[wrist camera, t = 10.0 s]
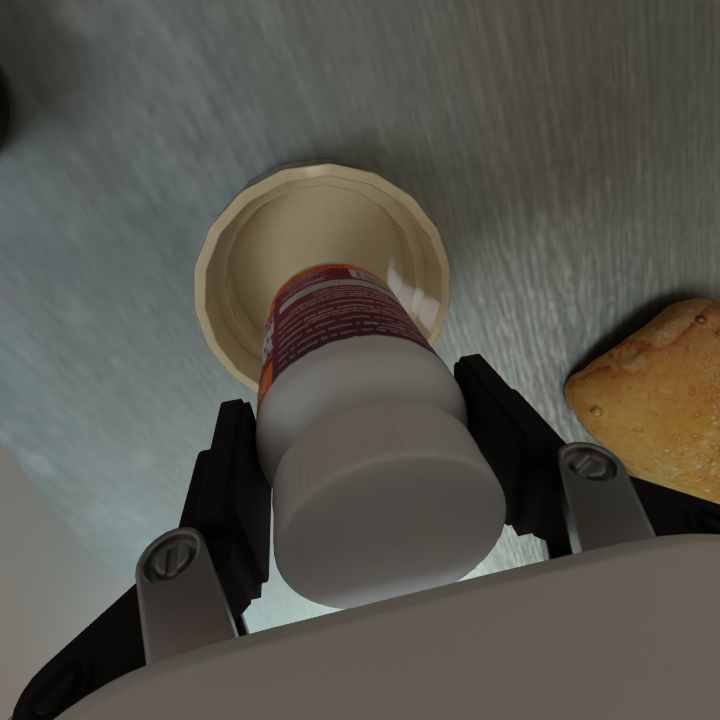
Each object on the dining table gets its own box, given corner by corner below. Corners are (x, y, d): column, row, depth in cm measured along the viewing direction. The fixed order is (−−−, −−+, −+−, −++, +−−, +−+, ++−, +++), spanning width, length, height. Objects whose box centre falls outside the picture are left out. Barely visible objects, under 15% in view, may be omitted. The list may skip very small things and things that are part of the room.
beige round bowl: (245, 373, 28) (236, 427, 23) (183, 175, 21) (150, 187, 16) (419, 341, 29) (449, 385, 24) (412, 144, 22) (451, 146, 17)
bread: (683, 513, 48) (770, 595, 39) (533, 554, 46) (589, 647, 38) (796, 262, 31) (989, 308, 23) (568, 312, 30) (682, 382, 21)
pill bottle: (241, 288, 16) (179, 507, 7) (377, 236, 16) (517, 383, 7) (297, 396, 19) (311, 651, 10) (411, 354, 19) (538, 569, 10)
